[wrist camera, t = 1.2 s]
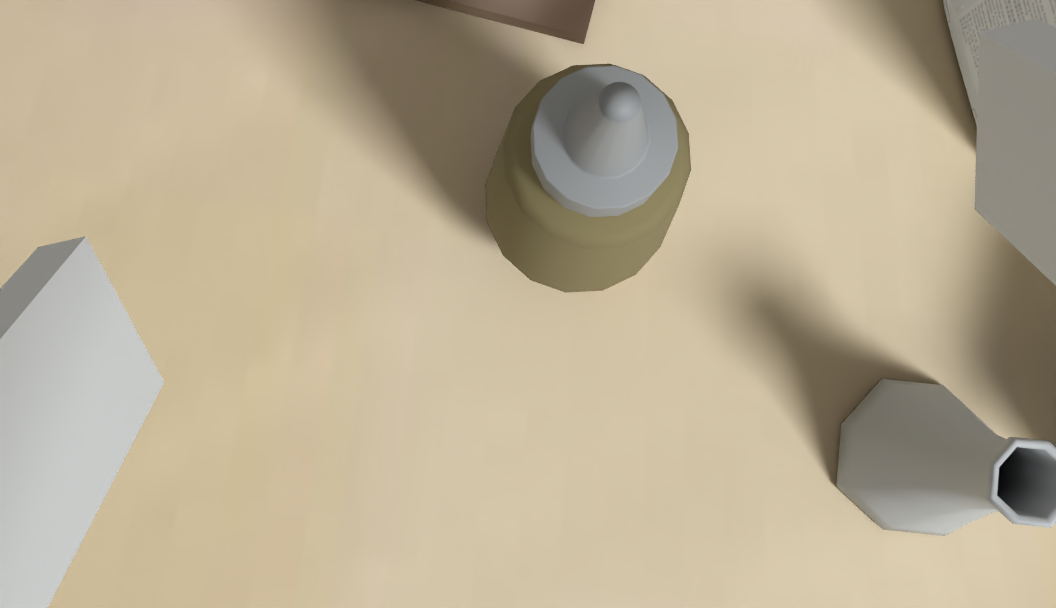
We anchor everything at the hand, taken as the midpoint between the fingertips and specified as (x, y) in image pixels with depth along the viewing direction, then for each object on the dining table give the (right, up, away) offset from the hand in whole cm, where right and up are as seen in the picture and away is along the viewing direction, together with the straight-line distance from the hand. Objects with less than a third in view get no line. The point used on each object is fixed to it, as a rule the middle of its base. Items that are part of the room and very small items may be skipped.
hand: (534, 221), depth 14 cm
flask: (+18, -8, +29) cm, 35 cm away
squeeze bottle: (+2, +3, +30) cm, 30 cm away
